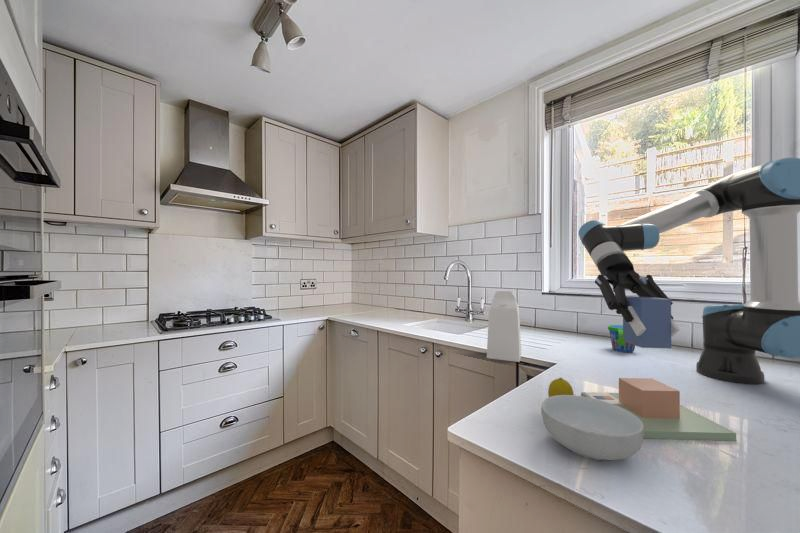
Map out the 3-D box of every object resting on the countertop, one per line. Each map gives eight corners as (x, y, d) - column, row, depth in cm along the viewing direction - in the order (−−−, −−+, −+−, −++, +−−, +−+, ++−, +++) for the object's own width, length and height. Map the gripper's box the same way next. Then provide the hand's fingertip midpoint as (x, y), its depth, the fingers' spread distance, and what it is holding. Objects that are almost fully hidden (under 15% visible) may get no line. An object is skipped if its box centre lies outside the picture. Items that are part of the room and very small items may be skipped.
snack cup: (612, 345, 142) (612, 323, 142) (641, 349, 134) (641, 326, 134) (603, 351, 131) (603, 327, 131) (634, 356, 123) (634, 331, 123)
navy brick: (650, 341, 76) (649, 296, 76) (671, 348, 70) (670, 299, 70) (623, 341, 77) (622, 296, 77) (641, 347, 70) (641, 299, 70)
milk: (521, 354, 127) (521, 290, 127) (519, 361, 116) (519, 292, 116) (490, 351, 132) (490, 289, 132) (486, 358, 121) (486, 291, 121)
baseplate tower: (658, 399, 82) (658, 370, 83) (736, 440, 63) (735, 403, 63) (581, 397, 83) (581, 369, 84) (633, 438, 63) (633, 401, 64)
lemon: (543, 408, 77) (543, 375, 77) (559, 404, 80) (559, 372, 80) (562, 417, 72) (562, 383, 72) (579, 413, 74) (579, 379, 75)
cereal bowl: (603, 488, 49) (603, 443, 49) (523, 436, 64) (523, 402, 64) (665, 461, 56) (665, 422, 56) (579, 420, 71) (579, 389, 71)
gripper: (641, 271, 88) (692, 342, 72) (571, 271, 89) (606, 341, 73) (655, 251, 83) (714, 323, 67) (580, 252, 84) (621, 322, 68)
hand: (657, 332), depth 70 cm, fingers closed on navy brick, 6 cm apart
